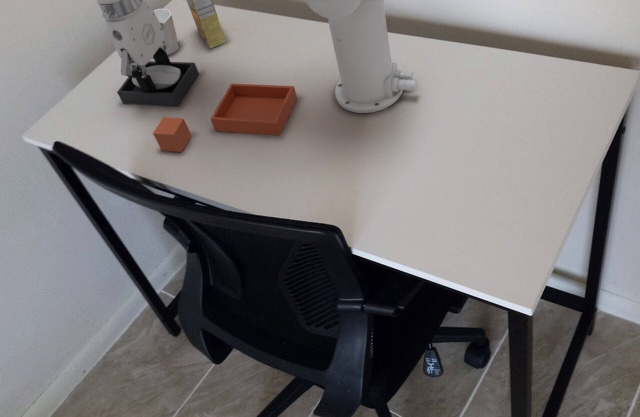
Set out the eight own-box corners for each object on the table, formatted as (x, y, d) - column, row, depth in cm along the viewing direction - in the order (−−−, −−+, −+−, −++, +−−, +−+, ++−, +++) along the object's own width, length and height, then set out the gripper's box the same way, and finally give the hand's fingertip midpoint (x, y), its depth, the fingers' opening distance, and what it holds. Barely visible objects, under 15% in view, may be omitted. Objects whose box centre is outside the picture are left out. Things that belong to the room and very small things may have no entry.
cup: (165, 62, 139) (151, 30, 133) (141, 48, 145) (126, 17, 139) (190, 45, 142) (177, 13, 136) (165, 32, 148) (152, 0, 142)
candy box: (197, 31, 145) (173, -32, 134) (214, 24, 146) (191, -40, 134) (210, 49, 139) (185, -15, 128) (227, 41, 140) (205, -23, 129)
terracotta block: (191, 135, 121) (183, 118, 118) (182, 152, 119) (173, 134, 116) (171, 134, 123) (163, 116, 120) (161, 150, 120) (152, 133, 117)
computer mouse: (178, 88, 129) (173, 76, 127) (132, 94, 131) (126, 82, 129) (184, 69, 133) (179, 57, 131) (139, 76, 135) (133, 64, 132)
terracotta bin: (297, 98, 122) (294, 86, 120) (279, 135, 116) (275, 123, 114) (235, 95, 127) (230, 83, 125) (215, 131, 121) (210, 119, 119)
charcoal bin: (199, 74, 134) (194, 62, 132) (178, 106, 128) (173, 95, 126) (145, 72, 138) (139, 60, 136) (123, 103, 132) (116, 92, 130)
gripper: (114, 30, 112) (154, 108, 125) (158, -25, 122) (191, 53, 135) (79, 29, 114) (122, 107, 128) (125, -24, 125) (160, 53, 138)
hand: (157, 78), depth 131 cm, fingers closed on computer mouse, 6 cm apart
